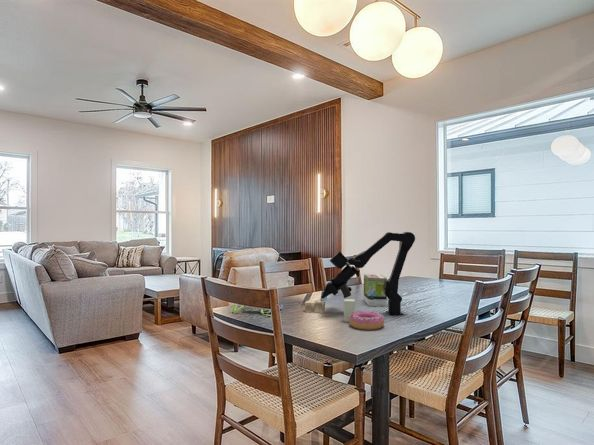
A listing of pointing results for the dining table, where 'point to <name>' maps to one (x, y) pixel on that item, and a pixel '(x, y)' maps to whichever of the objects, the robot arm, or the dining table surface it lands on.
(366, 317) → the donut
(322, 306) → the maple block
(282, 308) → the figurine
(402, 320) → the dining table surface
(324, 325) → the dining table surface
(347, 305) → the sage block
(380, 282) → the tea box
